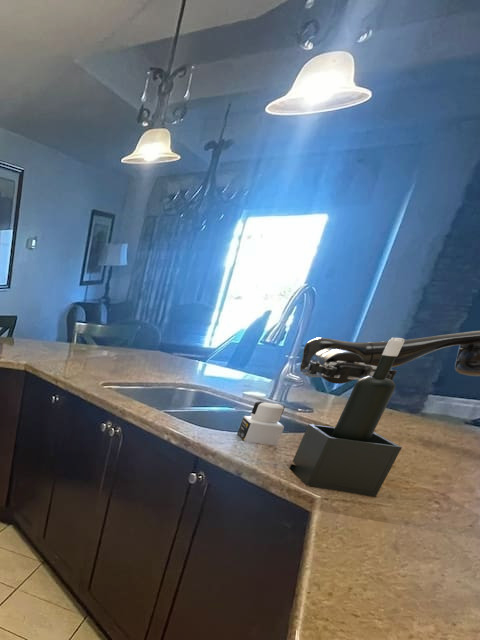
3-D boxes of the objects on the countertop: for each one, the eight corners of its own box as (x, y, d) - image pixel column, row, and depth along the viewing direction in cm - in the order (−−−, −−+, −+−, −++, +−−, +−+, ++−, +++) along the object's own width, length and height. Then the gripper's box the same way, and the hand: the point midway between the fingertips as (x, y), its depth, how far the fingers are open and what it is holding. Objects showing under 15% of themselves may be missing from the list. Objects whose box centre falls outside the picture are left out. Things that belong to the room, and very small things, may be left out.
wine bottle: (327, 472, 111) (392, 336, 99) (356, 482, 106) (427, 340, 94) (307, 472, 110) (369, 335, 98) (334, 483, 105) (403, 339, 93)
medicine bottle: (234, 440, 134) (250, 397, 130) (266, 445, 132) (283, 401, 127) (240, 447, 129) (257, 403, 124) (274, 452, 126) (293, 407, 121)
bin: (351, 478, 111) (374, 432, 107) (375, 497, 101) (402, 447, 97) (289, 468, 115) (308, 424, 111) (306, 485, 106) (328, 437, 101)
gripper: (306, 347, 123) (324, 354, 110) (383, 353, 116) (412, 362, 103) (294, 376, 126) (310, 387, 113) (369, 384, 119) (395, 397, 106)
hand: (359, 375), depth 108 cm, fingers open, 8 cm apart
